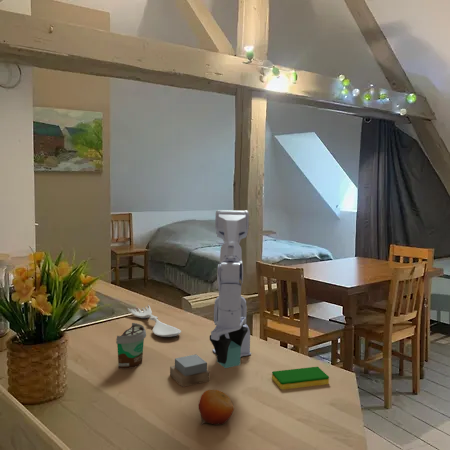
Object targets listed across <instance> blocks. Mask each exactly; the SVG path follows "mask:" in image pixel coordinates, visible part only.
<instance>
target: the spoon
mask: <svg viewBox="0 0 450 450" xmlns="http://www.w3.org/2000/svg"><path fill="white" fill-rule="evenodd" d="M141 309H142V310H141ZM141 309H140V308H139V307H138V308H137V309H136V308H131V309H130V308H129V307H127V311H128V312H129V313H131V314H132V315H133V316H135V317H136V318H139V319H140V318H141V319H147V318H149V320H150V321H155V324H154V325H153V328H152V333H153V334H154V335H156V336H158V337H162V338H170V337H171V338H172V337H176V336H178V335H179V334H182V333H181V332H182V330H181V329H179V328H177V327H175V326H172V325H170V324H168V323H167V324H166V323H164V322H162V321H160V320H159V317H158V316H156V315H154V314H153V311H152V309H151V306H150V305H149V304H147V306H144V307H141ZM137 310H138V311H137Z"/></svg>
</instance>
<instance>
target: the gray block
mask: <svg viewBox="0 0 450 450" xmlns="http://www.w3.org/2000/svg"><path fill="white" fill-rule="evenodd" d="M174 366H175V368H176V369H177V370H178V371H180V372H181V373H182V374H183V375H184V376H189V375H194V374H198V373H202V372H207V370H208V362H207V361H205V360H204V359H203V358H202V357H201V356H199V355H197V353H196V354H191V355H186V356H181V357H175V358H174Z"/></svg>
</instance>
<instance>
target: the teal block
mask: <svg viewBox="0 0 450 450" xmlns="http://www.w3.org/2000/svg"><path fill="white" fill-rule="evenodd" d="M241 358H242V357H241V346H239V345H238V344H236V343H235V342H233V341H231V342H230V345H229V348H228V354H227V361H226V363H225V364H223V363H219V362H218V360H217V359H216V363H218V364H219V365H220V366H221V367H223V368H224V369H228V368H232V367H237V366H240V365H241Z"/></svg>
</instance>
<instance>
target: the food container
mask: <svg viewBox="0 0 450 450" xmlns="http://www.w3.org/2000/svg"><path fill="white" fill-rule="evenodd" d="M146 337H147V333H146V329H145V327H144V325H142V324H140V323H135V322H132V323H131V326H130V327H129V328H128V329H126V330H124V332H123V333H122V334H121V335H116V340H115V341H116V342H115V343H116V345H117V362H118V369H119V370H121V369H122V370H124V369H133V368H137V367H138V366H140V365H142V364H143V358H144V357H143V355H144V344H145V343H144V342H145V338H146Z"/></svg>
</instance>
